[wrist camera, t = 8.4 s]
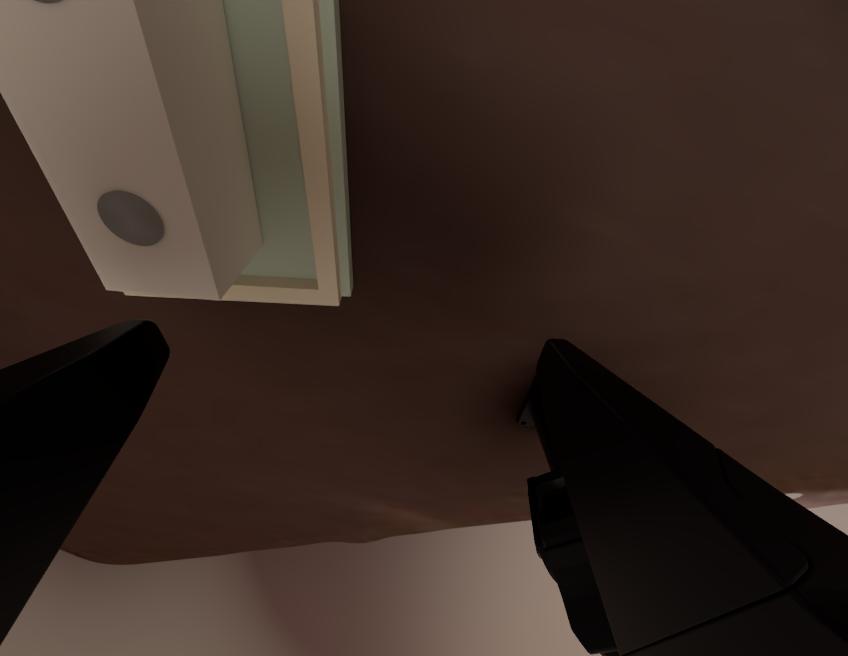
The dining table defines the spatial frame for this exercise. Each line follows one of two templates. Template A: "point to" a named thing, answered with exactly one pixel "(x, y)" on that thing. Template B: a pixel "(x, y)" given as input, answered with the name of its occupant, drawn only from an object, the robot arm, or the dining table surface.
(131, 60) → the power strip
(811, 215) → the dining table surface
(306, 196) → the shallow rectangular tray
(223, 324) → the dining table surface
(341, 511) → the dining table surface
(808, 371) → the dining table surface
